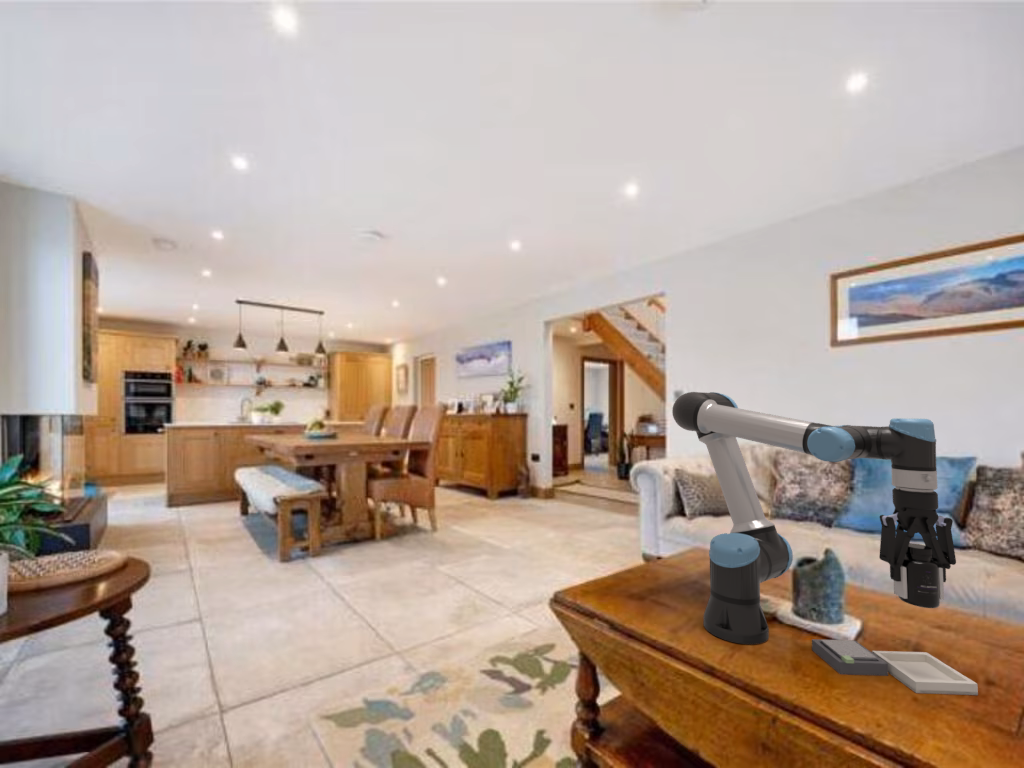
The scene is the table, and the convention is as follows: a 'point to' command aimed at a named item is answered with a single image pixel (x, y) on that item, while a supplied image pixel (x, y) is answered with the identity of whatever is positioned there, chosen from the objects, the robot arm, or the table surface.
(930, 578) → the supplement bottle
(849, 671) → the grey square framed panel
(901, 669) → the dish
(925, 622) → the table surface
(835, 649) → the grey square tile
